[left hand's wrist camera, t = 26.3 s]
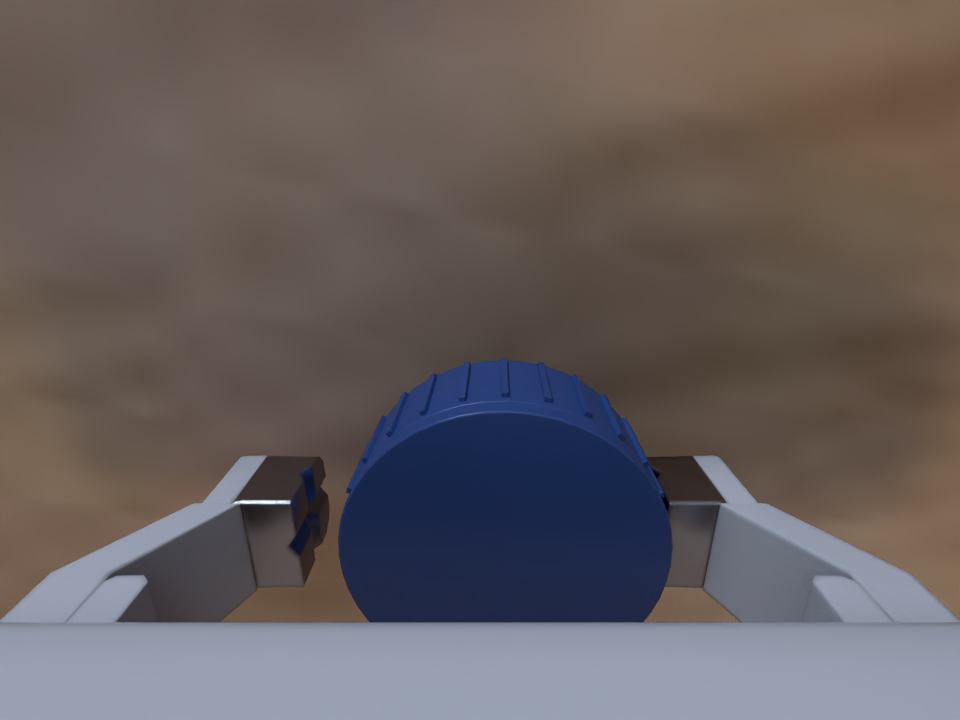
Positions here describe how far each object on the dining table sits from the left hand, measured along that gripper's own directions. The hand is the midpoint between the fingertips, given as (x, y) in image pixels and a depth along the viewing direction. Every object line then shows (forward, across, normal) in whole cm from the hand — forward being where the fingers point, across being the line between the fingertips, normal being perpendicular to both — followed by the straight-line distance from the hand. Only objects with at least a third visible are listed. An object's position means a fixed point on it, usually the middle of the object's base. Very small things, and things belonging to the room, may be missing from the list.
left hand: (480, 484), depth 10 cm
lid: (-2, 0, 0) cm, 2 cm away
